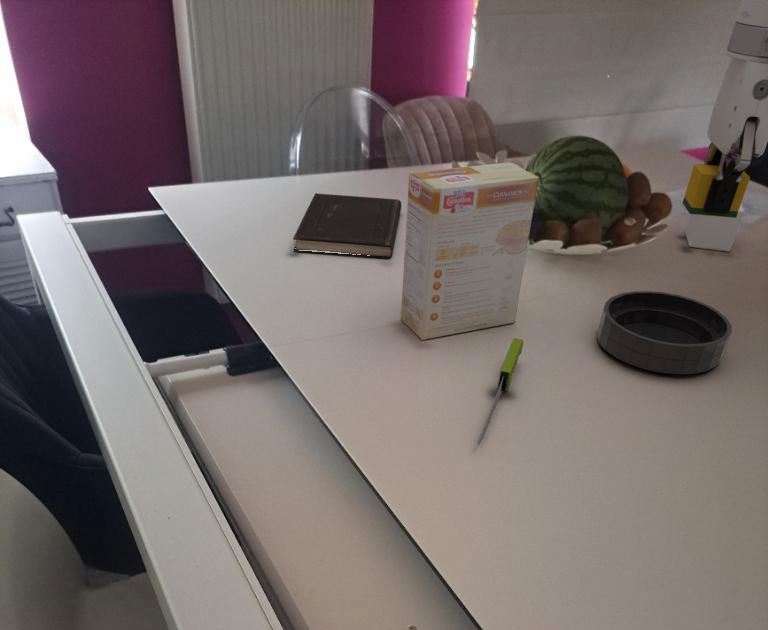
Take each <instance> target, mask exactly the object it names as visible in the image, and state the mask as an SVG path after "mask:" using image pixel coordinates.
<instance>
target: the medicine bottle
mask: <svg viewBox="0 0 768 630" xmlns="http://www.w3.org/2000/svg"><path fill="white" fill-rule="evenodd" d="M744 214H745V209H744V207H743V205H742V204H741V205H740V208H739V211H738V214H737V216H736V218H732V217H720V216H709V215H697V214H690V217H689V221H688V222H687V223H688V224H687V227H686V231H685V237H686V240H687V245H688V247H690V248H694V249H701V250H702V249H703V250H704V249H705V250H710V251H711V250H712V251H719V252H726V253H727V252H728V253H729V252H731V251H732V248H733V245H734V242H735V240H736V237H737V234H738V231H739V228H740V226H741V223H742V219H743V217H744Z"/></svg>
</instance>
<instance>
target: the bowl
mask: <svg viewBox="0 0 768 630" xmlns="http://www.w3.org/2000/svg"><path fill="white" fill-rule="evenodd" d="M597 328H598V329H597V333H596V337H597V340H598V343H599V344H600V346H601V347H602V348H603V349H604V351H606V352H607V353H609V354H610V355H612V356H613V357H614V358H616V359H618V360H620V361H621V362H623V363H626V364H628V365H631V366H634V367H635V368H639V369H642V370H646V371H650V372H654V373H661V374H668V375H669V374H671V375H694V374H700V373H703V372H707V371H710V370H712V369H714V368H715V367H717V366H718V365H719V363H720V362H721V361H722V360H723V357H724V354H725V352H726V348H727V346H728V344H729V341H730V338H731V336H732V330H733V327H732V324H731V322H730V320H729V319H728V317H726V315H724V314H723V313H722V312H720V311H719V310H718V309H716V308H714V307H713V306H711V305H708V304H707V303H705V302H701V301H699V300H697V299H693V298H690V297H687V296H683V295H680V294H676V293H669V292H665V291H650V290H637V291H629V292H622V293H619V294H616V295H614V296H611V297H610V298H609V299H607V301H605V303H604V306H603V309H602V313H601V318H600V321H599V325H598V327H597Z"/></svg>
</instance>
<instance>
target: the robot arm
mask: <svg viewBox="0 0 768 630" xmlns="http://www.w3.org/2000/svg"><path fill="white" fill-rule="evenodd" d="M726 48H727V49H726V52H725V56H727V57H729V58H730V60H729V63H728V65H727V68H726V70H725V73H724V76H723V79H722V82H721V85H720V88H719V91H718V94H717V97H716V100H715V103H714V106H713V108H712V112H711V114H710V115H711V116H710V119H709V124H708V128H707V133H706V134H707V138H708V139H709V141H710V144H709V145H708V150H707V154H706V156H705V158H704V163H703V164H704V165H715V166H719V168H718V172H717V176H716V179H712V183H711V186H710V189H709V192H708V195H707V198H706V201H705V204H704V207H703V210H704V211H705V212H706V213H717V214H728V213H729V211H730V208H731V205H732V203H733V200H734V197H735V194H736V191H737V188H738V185H739V182H740V181H741V179H742V175H743V172H745V171H746V169H747V168H748V167H749V166H750V164H751V162H752V158H753V157H754V158H760V157H761V156H762V155H764V152H765V150H766V148H767V145H768V0H741V1H740V5H739V8H738V11H737V15H736V17H735V21H734V25H733V28H732V31H731V33H730V38H729V41H728V44H727V47H726ZM735 149H737V150H738V151H737V153H736V152H735ZM752 156H753V157H752ZM726 166H727V167H726Z"/></svg>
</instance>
